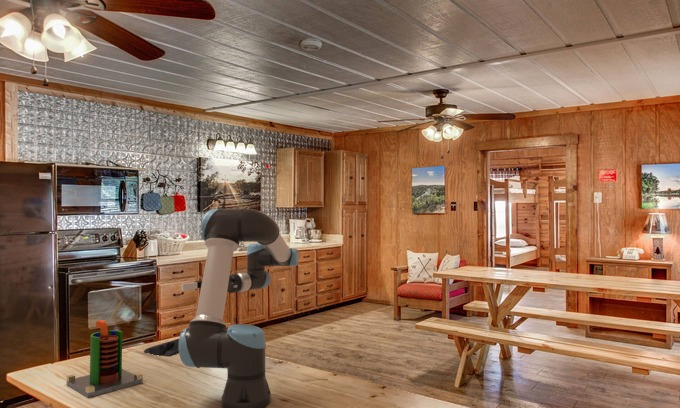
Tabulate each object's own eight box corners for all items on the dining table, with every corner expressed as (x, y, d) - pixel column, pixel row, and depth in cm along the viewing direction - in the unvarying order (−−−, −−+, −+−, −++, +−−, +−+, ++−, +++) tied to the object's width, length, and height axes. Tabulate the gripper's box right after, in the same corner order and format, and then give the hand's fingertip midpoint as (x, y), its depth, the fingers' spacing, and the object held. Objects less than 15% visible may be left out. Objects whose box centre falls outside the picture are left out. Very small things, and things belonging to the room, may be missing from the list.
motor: (105, 385, 161) (106, 325, 162) (82, 383, 163) (83, 324, 163) (125, 375, 171) (125, 318, 171) (103, 373, 173) (103, 317, 173)
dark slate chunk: (203, 344, 217) (203, 334, 217) (167, 358, 197) (167, 346, 197) (177, 341, 224) (177, 330, 224) (139, 354, 203) (139, 342, 204)
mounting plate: (142, 382, 168) (142, 374, 168) (88, 398, 154) (88, 388, 154) (118, 371, 180) (119, 363, 180) (66, 384, 166) (66, 376, 166)
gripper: (256, 295, 192) (210, 303, 176) (219, 288, 208) (174, 295, 192) (256, 276, 192) (210, 282, 176) (219, 271, 208) (174, 276, 192)
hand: (191, 289), depth 184 cm, fingers open, 13 cm apart
